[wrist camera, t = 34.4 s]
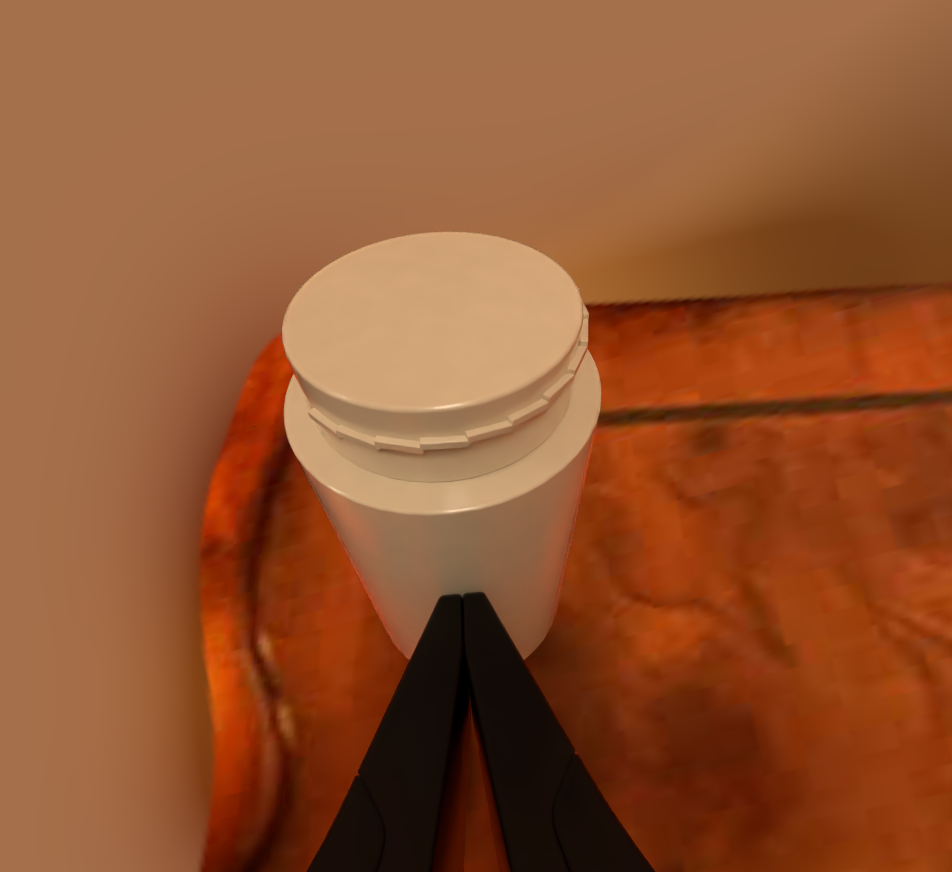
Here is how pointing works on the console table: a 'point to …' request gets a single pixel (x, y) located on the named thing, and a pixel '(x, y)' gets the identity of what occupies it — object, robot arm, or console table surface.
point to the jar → (446, 422)
